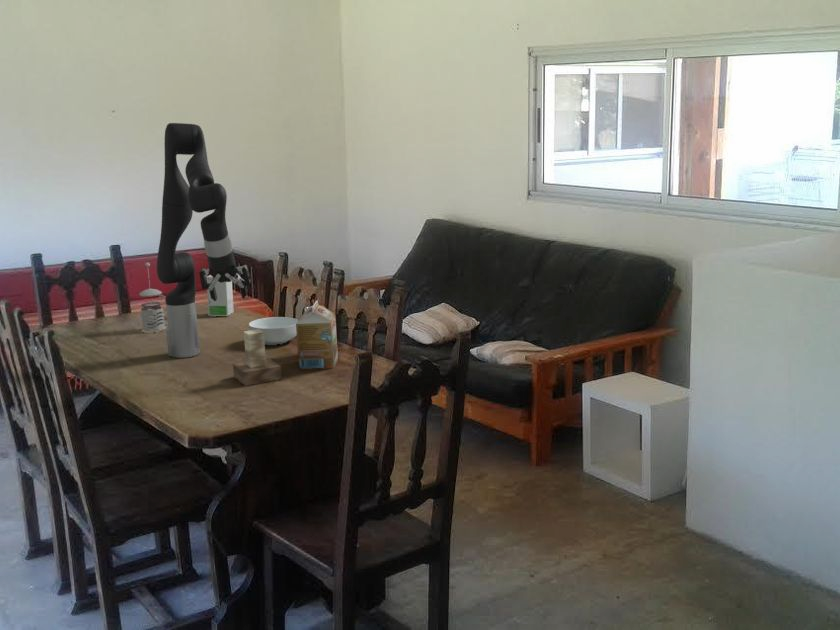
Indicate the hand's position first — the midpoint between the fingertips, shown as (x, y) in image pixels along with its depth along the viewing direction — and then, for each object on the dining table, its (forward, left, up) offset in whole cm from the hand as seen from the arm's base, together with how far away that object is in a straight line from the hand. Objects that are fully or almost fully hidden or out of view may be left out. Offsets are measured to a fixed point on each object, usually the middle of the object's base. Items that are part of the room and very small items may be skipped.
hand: (229, 298), depth 278 cm
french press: (-47, +55, -23) cm, 76 cm away
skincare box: (-30, +78, -23) cm, 87 cm away
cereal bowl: (+3, +35, -23) cm, 42 cm away
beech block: (+9, -7, -19) cm, 22 cm away
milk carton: (+24, +8, -23) cm, 34 cm away
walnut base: (+9, -7, -23) cm, 25 cm away
